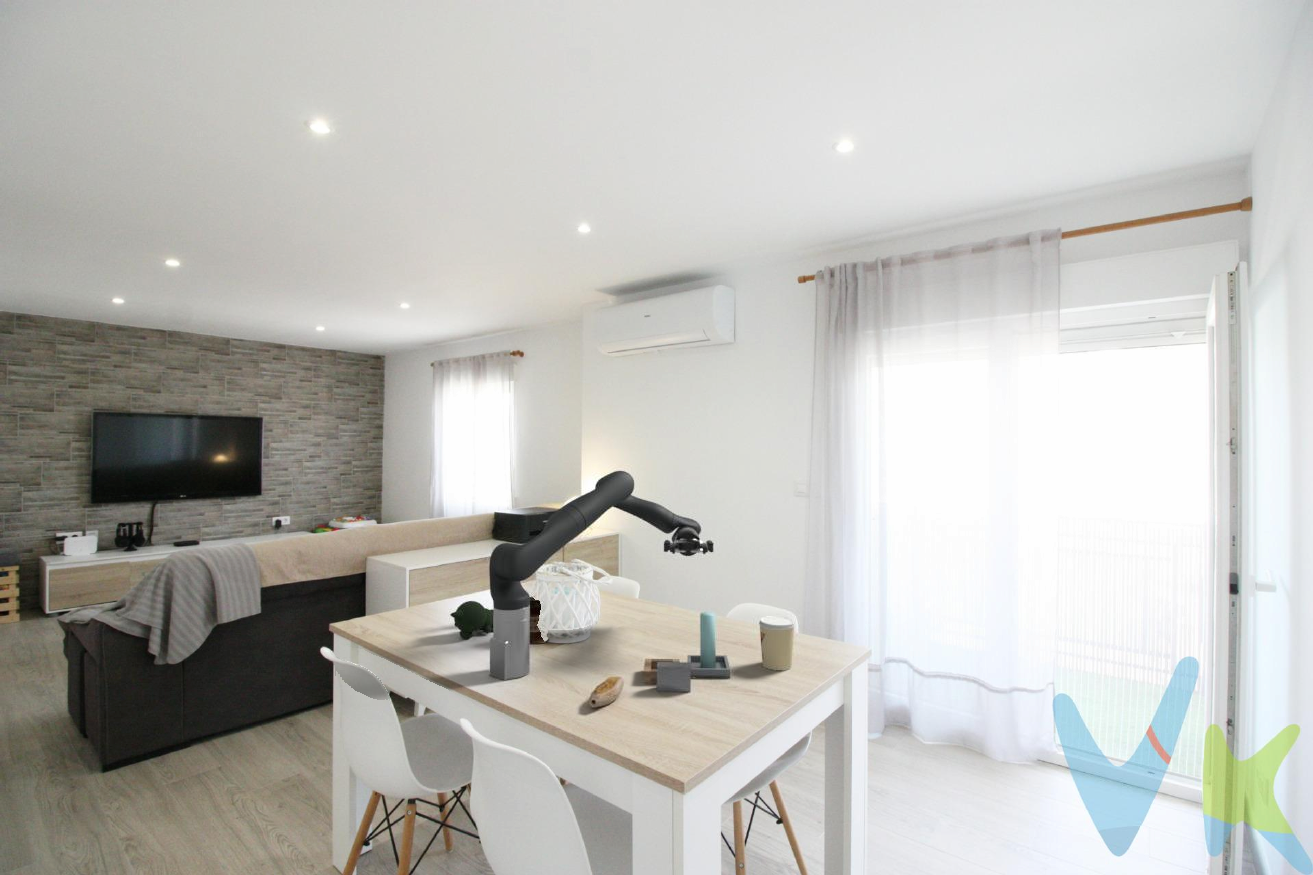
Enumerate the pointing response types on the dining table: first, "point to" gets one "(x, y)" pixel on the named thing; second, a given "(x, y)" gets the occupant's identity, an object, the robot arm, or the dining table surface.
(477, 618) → the toy figurine
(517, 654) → the robot arm
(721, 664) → the tray
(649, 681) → the socket
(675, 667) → the gray rectangular block
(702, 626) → the dowel
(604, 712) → the dining table surface
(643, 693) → the dining table surface
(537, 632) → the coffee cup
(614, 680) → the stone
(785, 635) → the coffee cup
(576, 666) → the dining table surface
